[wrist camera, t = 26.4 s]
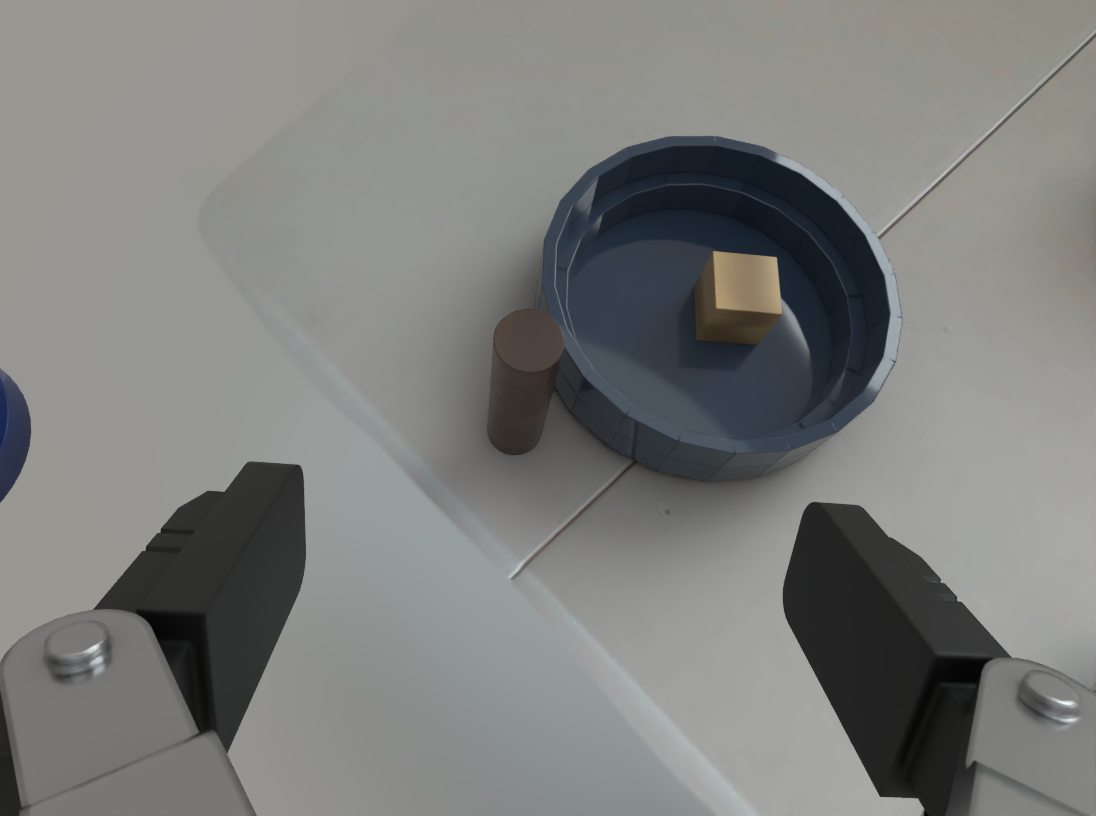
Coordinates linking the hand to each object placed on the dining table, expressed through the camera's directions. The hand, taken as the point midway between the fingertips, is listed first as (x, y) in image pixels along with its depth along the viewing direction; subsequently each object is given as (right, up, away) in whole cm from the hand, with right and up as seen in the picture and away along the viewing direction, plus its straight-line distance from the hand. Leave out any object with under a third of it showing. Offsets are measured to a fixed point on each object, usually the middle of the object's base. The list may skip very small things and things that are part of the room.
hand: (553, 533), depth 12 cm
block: (+10, +7, +29) cm, 32 cm away
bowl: (+8, +7, +29) cm, 31 cm away
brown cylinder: (-2, +1, +26) cm, 26 cm away
